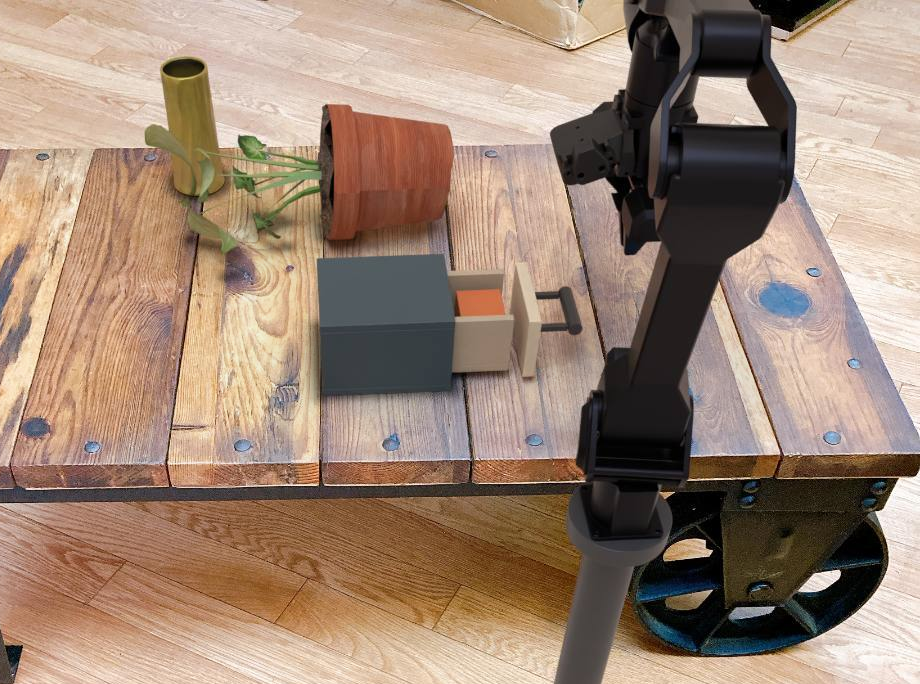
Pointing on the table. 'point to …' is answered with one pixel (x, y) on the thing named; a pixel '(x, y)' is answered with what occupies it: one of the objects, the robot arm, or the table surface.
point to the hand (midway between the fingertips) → (627, 249)
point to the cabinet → (385, 324)
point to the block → (479, 303)
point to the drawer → (505, 322)
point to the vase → (191, 120)
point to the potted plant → (343, 173)
